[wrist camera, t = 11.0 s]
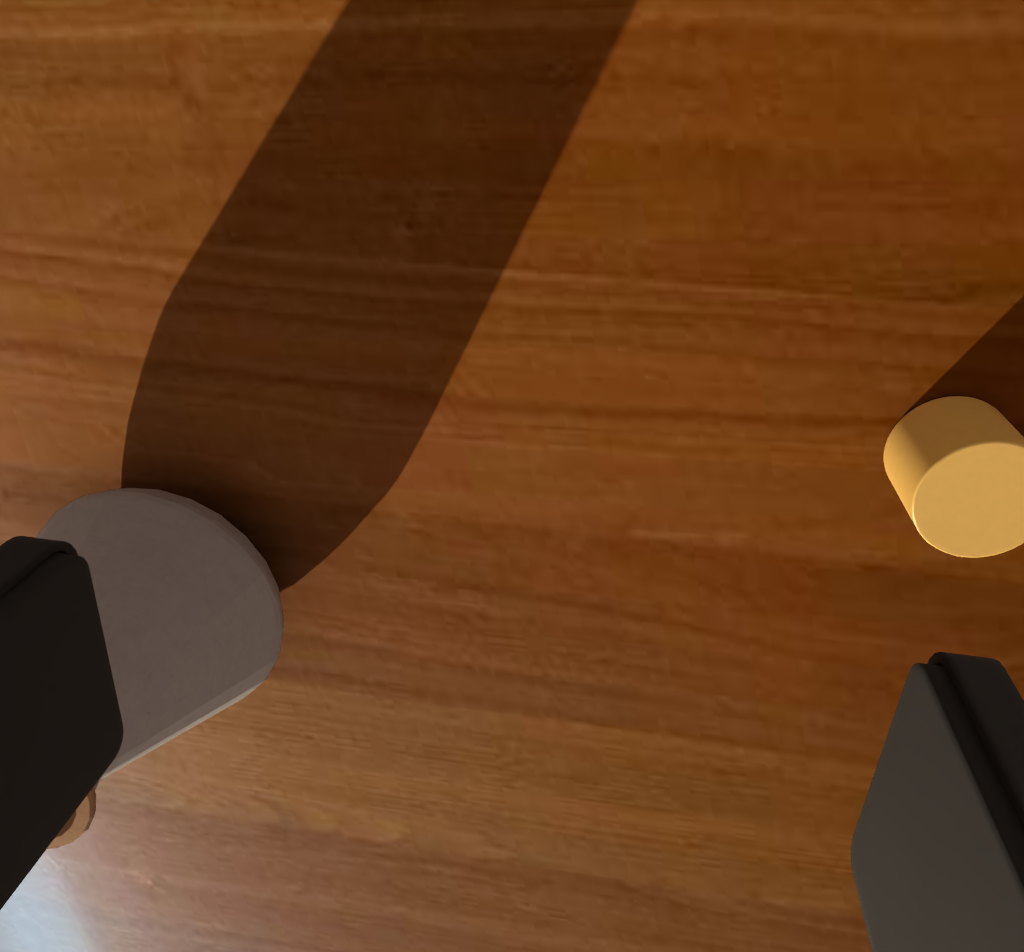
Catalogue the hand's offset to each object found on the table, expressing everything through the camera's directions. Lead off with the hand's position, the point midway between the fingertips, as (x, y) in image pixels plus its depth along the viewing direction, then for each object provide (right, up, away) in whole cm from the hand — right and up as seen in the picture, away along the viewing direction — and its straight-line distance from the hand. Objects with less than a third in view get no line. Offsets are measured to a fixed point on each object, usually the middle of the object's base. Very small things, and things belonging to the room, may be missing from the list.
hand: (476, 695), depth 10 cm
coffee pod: (+17, +3, +21) cm, 27 cm away
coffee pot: (-19, -4, +32) cm, 37 cm away
